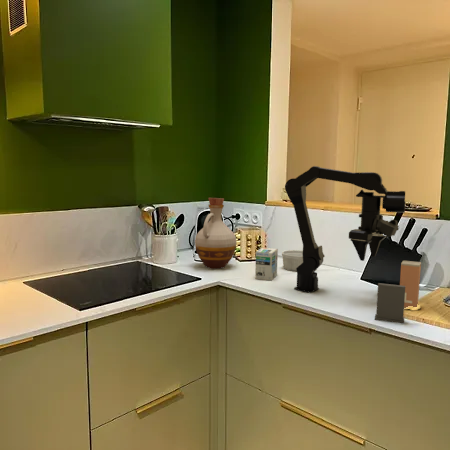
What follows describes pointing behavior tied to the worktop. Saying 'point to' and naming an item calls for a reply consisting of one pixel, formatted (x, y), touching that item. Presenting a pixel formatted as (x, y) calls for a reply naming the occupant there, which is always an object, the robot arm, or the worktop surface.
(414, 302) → the tin
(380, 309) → the screen
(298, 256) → the ramekin
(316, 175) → the robot arm
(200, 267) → the worktop surface
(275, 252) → the light bulb box
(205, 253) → the jug
